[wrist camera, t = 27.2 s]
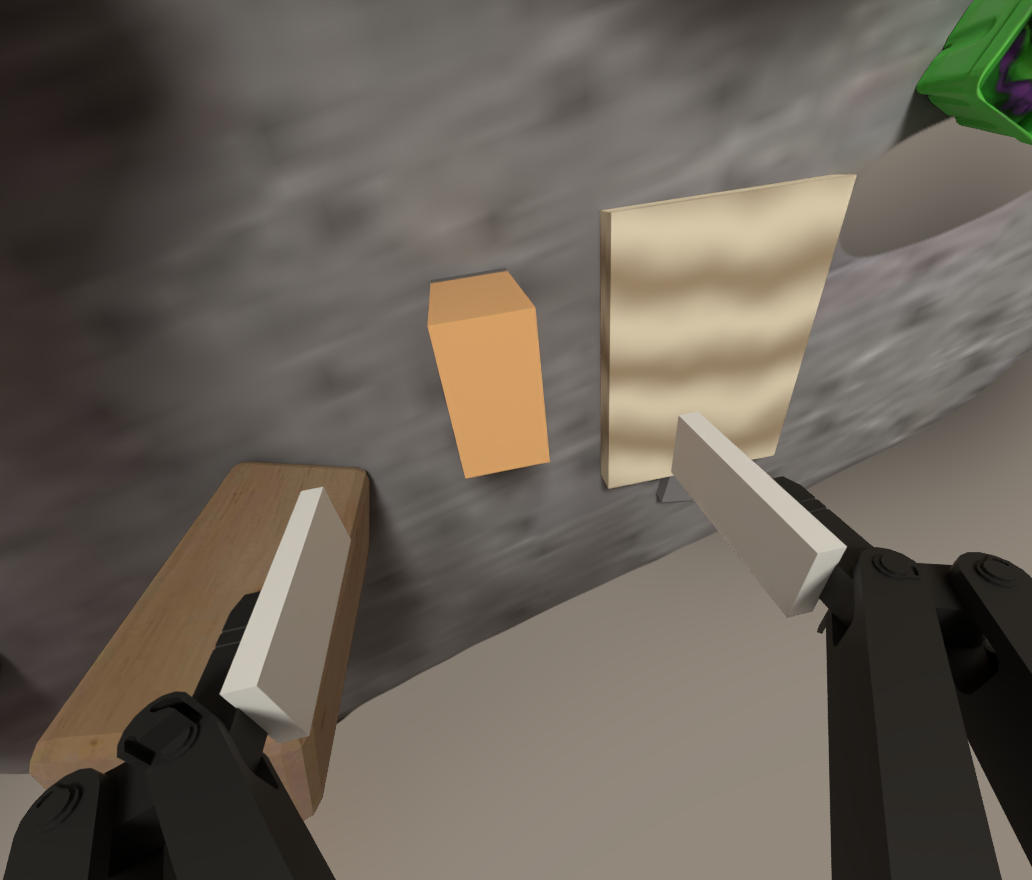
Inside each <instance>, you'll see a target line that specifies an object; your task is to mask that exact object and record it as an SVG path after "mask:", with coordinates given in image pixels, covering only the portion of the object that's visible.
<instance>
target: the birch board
mask: <svg viewBox="0 0 1032 880" xmlns="http://www.w3.org/2000/svg"><path fill="white" fill-rule="evenodd" d="M856 176H857V175H827V176H820V177H814V178H807V179H801V180H794V181H788V182H782V183H775V184H769V185H762V186H756V187H749V188H743V189H736V190H730V191H723V192H717V193H711V194H704V195H698V196H691V197H685V198H678V199H672V200H665V201H659V202H653V203H646V204H640V205H633V206H627V207H620V208H614V209H607V210H601V211H600V272H601V476H602V478H603V480H604V482H605V483H606V485H607V487H608V489H610V488H615V487H620V486H625V485H630V484H635V483H639V482H644V481H649V480H654V479H659V478H664V477H669V476H674V475H673V474H672V472H671V468H672V460H673V453H674V446H675V438H676V431H677V423H678V416H679V415H683V414H688V413H693V412H699V413H700V414H701V415H702V416H703V417H705V418H706V419H707V420H708V421H709V422H710V423H711V424H712V425H713V426H714V427H716V428H717V429H718V430H719V431H720V432H721V433H722V434H723V435H724V436H725V437H727V438H728V439H729V440H730V441H731V442H732V443H733V444H734V445H735V446H737V447H738V448H739V449H740V450H741V451H742V452H743V453H744V454H745V455H746V456H748V457H749V458H750V459H751V460H752V459H757V458H762V457H767V456H772V455H774V453H775V450H776V446H777V443H778V440H779V436H780V433H781V429H782V426H783V423H784V419H785V416H786V413H787V409H788V406H789V402H790V399H791V396H792V392H793V389H794V386H795V382H796V379H797V375H798V372H799V369H800V365H801V362H802V358H803V355H804V352H805V348H806V345H807V342H808V338H809V335H810V331H811V328H812V325H813V321H814V318H815V314H816V311H817V308H818V304H819V301H820V298H821V294H822V291H823V287H824V284H825V281H826V277H827V274H828V270H829V267H830V264H831V260H832V257H833V254H834V250H835V247H836V243H837V240H838V237H839V233H840V230H841V227H842V223H843V220H844V216H845V213H846V209H847V206H848V203H849V199H850V196H851V193H852V189H853V186H854V183H855V179H856Z"/></svg>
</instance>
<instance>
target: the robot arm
mask: <svg viewBox="0 0 1032 880" xmlns="http://www.w3.org/2000/svg"><path fill="white" fill-rule="evenodd" d="M671 472H672V474H673V475H674V476H675V477H676V479H677V480H678V481H679V482H680V484H681V485H682V486H683V487H684V489H685V490H686V491H687V493H688V494H689V495H690V496H691V498H692V499H693V500H694V501H695V503H696V504H697V505H698V506H699V508H700V509H701V510H702V511H703V513H704V514H705V515H706V516H707V518H708V519H709V520H710V521H711V523H712V524H713V525H714V526H715V528H716V529H717V530H718V531H719V533H720V534H721V535H722V537H723V538H724V539H725V540H726V542H727V543H728V544H729V545H730V547H731V548H732V549H733V550H734V552H735V553H736V554H737V555H738V557H739V558H740V559H741V560H742V562H743V563H744V564H745V565H746V567H747V568H748V569H749V570H750V572H751V573H752V574H753V575H754V577H755V578H756V579H757V581H758V582H759V583H760V584H761V586H762V587H763V588H764V589H765V591H766V592H767V593H768V594H769V596H770V597H771V598H772V599H773V601H774V602H775V603H776V604H777V605H778V607H779V608H780V609H781V611H782V612H783V613H784V614H785V616H786V617H787V618H788V617H792V616H796V615H800V614H804V613H808V612H812V611H813V609H814V607H815V605H816V604H817V602H818V600H819V599H820V600H821V601H822V602H823V603H824V604H825V605H826V606H827V607H828V611H827V613H826V614H825V616H824V618H823V620H822V621H821V623H820V625H819V628H818V631H817V632H819V633H821V634H822V633H823V631H824V629H825V628H826V648H827V690H828V691H827V692H828V735H829V777H830V778H829V780H830V820H831V822H830V823H831V865H832V866H831V868H832V880H1002V878H1001V874H1000V870H999V866H998V862H997V858H996V854H995V850H994V846H993V842H992V838H991V834H990V829H989V825H988V821H987V817H986V813H985V809H984V805H983V801H982V797H981V793H980V789H979V785H978V780H977V776H976V772H975V768H974V764H973V760H972V756H971V752H970V748H969V744H968V741H969V743H970V745H971V747H972V749H973V751H974V753H975V755H976V757H977V759H978V761H979V763H980V765H981V767H982V769H983V771H984V773H985V775H986V777H987V779H988V781H989V783H990V785H991V787H992V789H993V790H994V792H995V795H996V797H997V799H998V800H999V802H1000V805H1001V806H1002V809H1003V810H1004V812H1005V814H1006V816H1007V818H1008V820H1009V822H1010V824H1011V826H1012V828H1013V830H1014V832H1015V834H1016V836H1017V838H1018V840H1019V842H1020V844H1021V846H1022V848H1023V850H1024V852H1025V854H1026V856H1027V858H1028V860H1029V862H1030V864H1031V866H1032V578H1031V577H1030V576H1029V575H1028V574H1027V573H1026V572H1025V571H1024V570H1022V569H1021V568H1019V567H1017V566H1016V565H1014V564H1012V563H1011V562H1009V561H1007V560H1004V559H1002V558H999V557H997V556H993V555H989V554H985V553H981V552H967V553H965V554H962V555H960V556H959V557H958V558H957V560H956V561H955V562H954V564H953V565H941V564H925V563H924V564H923V563H916V562H915V561H914V560H911V559H910V558H908V557H907V556H905V555H903V554H901V553H898V552H896V551H893V550H890V549H885V548H878V547H873V546H872V545H870V544H869V543H868V542H867V541H866V540H864V539H863V538H862V537H861V536H860V535H858V534H857V533H856V532H855V531H854V530H853V529H851V528H850V527H849V526H848V525H847V524H846V523H845V522H843V521H842V520H841V519H840V518H839V517H838V516H836V515H835V514H834V513H833V512H832V511H830V510H829V509H826V506H825V505H823V504H822V503H821V502H820V501H819V500H816V499H815V497H814V496H813V495H812V494H810V493H809V492H808V491H807V490H806V489H805V488H804V487H802V486H801V485H799V484H797V483H795V482H793V481H791V480H789V479H787V478H785V477H783V476H782V477H778V478H773V479H772V478H771V477H770V476H769V475H767V474H766V473H765V472H764V471H763V470H762V469H761V468H760V467H759V466H757V465H756V464H755V463H754V462H753V461H752V460H751V459H750V458H749V457H748V456H746V455H745V454H744V453H743V452H742V451H741V450H740V449H739V448H738V447H737V446H735V445H734V444H733V443H732V442H731V441H730V440H729V439H728V438H727V437H725V436H724V435H723V434H722V433H721V432H720V431H719V430H718V429H717V428H716V427H714V426H713V425H712V424H711V423H710V422H709V421H708V420H707V419H706V418H705V417H703V416H702V415H701V414H700V413H699V412H693V413H688V414H683V415H679V416H678V423H677V431H676V438H675V446H674V453H673V460H672V468H671ZM350 542H351V539H350V537H349V535H348V533H347V531H346V529H345V527H344V525H343V523H342V521H341V519H340V518H339V516H338V514H337V512H336V510H335V508H334V506H333V504H332V502H331V500H330V498H329V497H328V495H327V493H326V491H325V489H324V487H319V488H314V489H309V490H304V491H301V493H300V495H299V497H298V500H297V502H296V505H295V507H294V510H293V512H292V515H291V517H290V520H289V522H288V525H287V527H286V530H285V532H284V535H283V537H282V540H281V542H280V545H279V547H278V550H277V552H276V555H275V557H274V560H273V562H272V565H271V567H270V570H269V572H268V575H267V577H266V580H265V582H264V585H263V587H262V590H261V591H259V592H254V593H250V594H245V595H244V596H243V597H242V599H241V600H240V601H239V602H238V603H237V605H236V606H235V607H234V608H233V609H232V611H231V612H230V614H229V616H228V618H227V620H226V623H225V625H224V627H223V629H222V634H220V636H219V638H218V640H217V643H216V645H215V650H213V651H212V654H211V656H210V658H209V660H208V662H207V665H206V667H205V669H204V671H203V674H202V676H201V678H200V680H199V682H198V685H197V687H196V689H195V691H194V694H193V696H192V697H191V696H190V695H189V694H188V693H186V692H179V691H174V692H171V693H168V694H165V695H162V696H161V697H159V698H157V699H156V700H154V701H153V702H151V703H149V704H148V705H147V706H146V707H145V708H144V709H142V710H141V711H140V712H139V713H138V714H137V715H136V716H135V717H134V718H133V719H132V721H131V722H130V723H129V725H128V726H127V727H126V729H125V730H124V731H123V734H122V736H121V738H120V740H119V742H118V745H117V758H119V759H121V760H123V761H125V762H124V763H122V764H120V765H118V766H117V767H115V768H113V769H111V770H109V771H107V772H106V773H104V774H103V773H101V772H99V771H97V770H95V769H93V768H85V769H79V770H76V771H74V772H72V773H70V774H68V775H66V776H64V777H63V778H61V779H60V780H59V781H57V782H56V783H55V784H53V785H52V786H51V787H49V788H48V789H47V790H46V791H45V792H44V793H43V794H42V795H41V796H40V797H39V798H38V799H37V800H36V801H35V802H34V803H33V805H32V806H31V807H30V809H29V810H28V811H27V813H26V814H25V816H24V817H23V819H22V820H21V822H20V824H19V827H18V829H17V831H16V833H15V836H14V838H13V842H12V846H11V850H10V854H9V858H8V862H7V866H6V870H5V874H4V878H3V880H336V879H335V877H334V876H333V874H332V872H331V870H330V868H329V867H328V865H327V863H326V861H325V859H324V858H323V856H322V854H321V852H320V851H319V849H318V847H317V845H316V843H315V841H314V839H313V838H312V836H311V834H310V832H309V830H308V829H307V827H306V825H305V823H304V822H303V819H302V818H301V816H300V814H299V812H298V810H297V809H296V807H295V805H294V803H293V801H292V800H291V798H290V796H289V794H288V792H287V790H286V789H285V787H284V785H283V783H282V781H281V780H280V778H279V776H278V774H277V772H276V771H275V769H274V767H273V765H272V763H271V762H270V760H269V758H268V756H267V755H266V754H265V753H263V749H264V746H265V742H266V739H267V735H269V736H270V737H271V738H272V739H273V740H275V741H276V742H277V743H278V744H279V743H283V742H287V741H291V740H295V739H299V738H303V737H307V736H309V734H310V729H311V725H312V720H313V715H314V711H315V706H316V701H317V697H318V692H319V687H320V683H321V678H322V673H323V668H324V664H325V659H326V654H327V650H328V645H329V640H330V636H331V631H332V626H333V622H334V617H335V612H336V608H337V603H338V598H339V594H340V589H341V584H342V579H343V575H344V570H345V565H346V561H347V556H348V551H349V547H350Z"/></svg>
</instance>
